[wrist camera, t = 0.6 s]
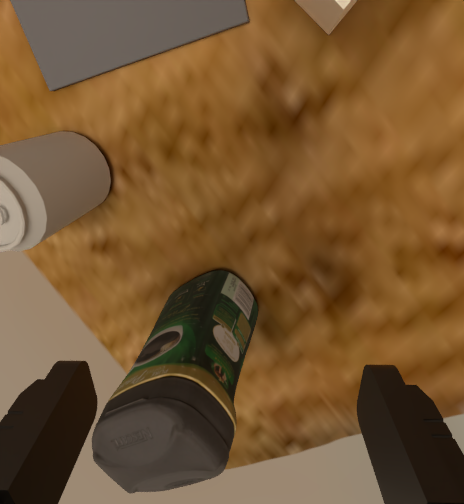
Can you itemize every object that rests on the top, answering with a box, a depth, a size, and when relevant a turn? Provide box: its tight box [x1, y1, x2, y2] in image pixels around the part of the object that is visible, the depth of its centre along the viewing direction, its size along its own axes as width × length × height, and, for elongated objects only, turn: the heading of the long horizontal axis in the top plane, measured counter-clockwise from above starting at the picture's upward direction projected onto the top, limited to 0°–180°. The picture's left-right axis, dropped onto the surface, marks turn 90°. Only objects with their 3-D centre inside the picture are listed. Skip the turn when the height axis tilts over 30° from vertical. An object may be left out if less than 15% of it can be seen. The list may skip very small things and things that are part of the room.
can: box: [0, 131, 111, 252], centre depth 29 cm, size 8×8×12 cm
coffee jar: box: [92, 270, 258, 493], centre depth 31 cm, size 10×8×19 cm
